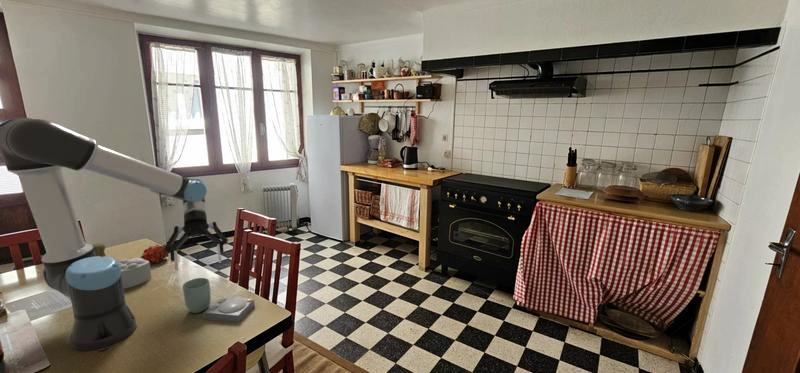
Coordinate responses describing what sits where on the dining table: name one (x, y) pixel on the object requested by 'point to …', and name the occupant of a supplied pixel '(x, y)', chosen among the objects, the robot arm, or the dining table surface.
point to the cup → (197, 294)
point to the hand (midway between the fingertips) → (198, 265)
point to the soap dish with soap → (229, 309)
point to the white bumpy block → (134, 271)
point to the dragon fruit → (155, 254)
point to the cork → (99, 249)
